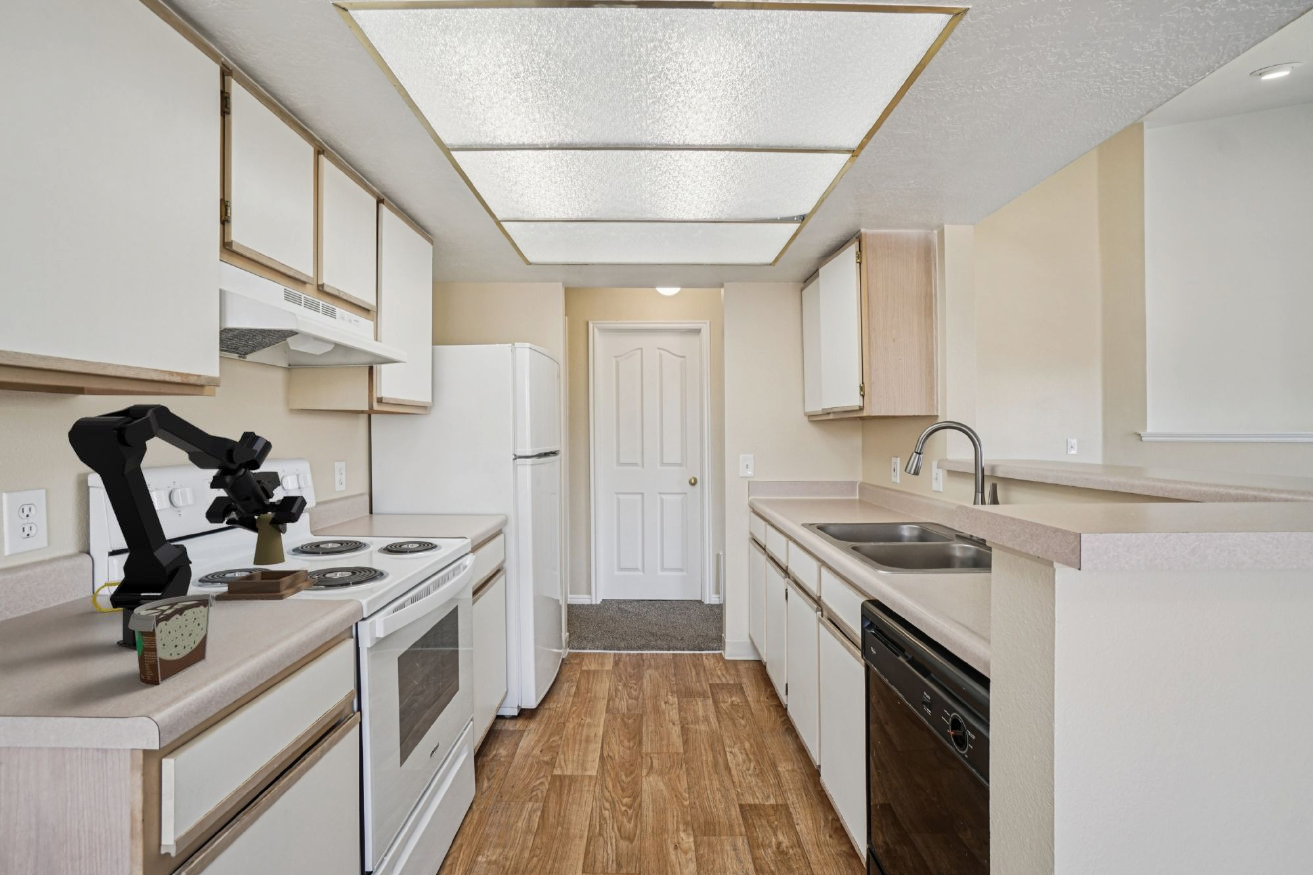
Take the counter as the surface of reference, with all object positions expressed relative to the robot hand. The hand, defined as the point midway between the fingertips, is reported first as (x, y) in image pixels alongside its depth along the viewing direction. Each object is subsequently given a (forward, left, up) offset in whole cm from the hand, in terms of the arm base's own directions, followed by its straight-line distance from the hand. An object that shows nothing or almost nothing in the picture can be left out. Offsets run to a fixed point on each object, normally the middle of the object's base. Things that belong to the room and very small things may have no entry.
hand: (273, 532), depth 134 cm
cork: (-1, -1, -7) cm, 7 cm away
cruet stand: (-1, 0, -13) cm, 13 cm away
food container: (-38, -31, -13) cm, 51 cm away
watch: (-23, +14, -13) cm, 30 cm away
